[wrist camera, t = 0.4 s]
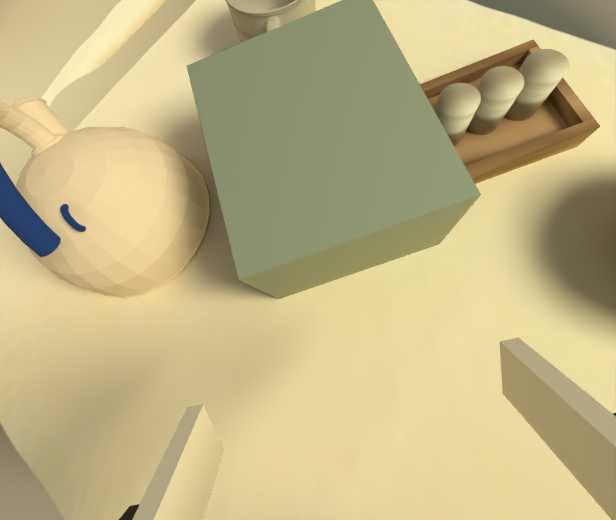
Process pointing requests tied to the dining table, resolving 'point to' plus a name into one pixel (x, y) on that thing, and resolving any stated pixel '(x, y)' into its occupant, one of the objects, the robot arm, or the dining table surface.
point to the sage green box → (325, 151)
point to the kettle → (102, 202)
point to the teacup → (266, 14)
